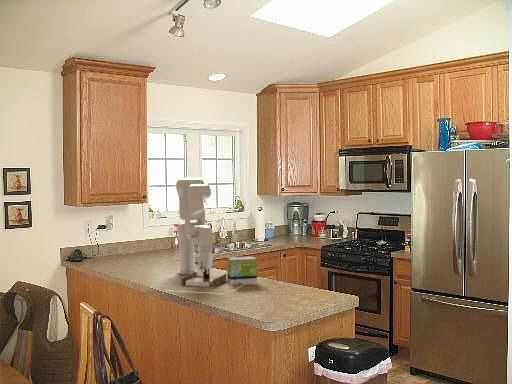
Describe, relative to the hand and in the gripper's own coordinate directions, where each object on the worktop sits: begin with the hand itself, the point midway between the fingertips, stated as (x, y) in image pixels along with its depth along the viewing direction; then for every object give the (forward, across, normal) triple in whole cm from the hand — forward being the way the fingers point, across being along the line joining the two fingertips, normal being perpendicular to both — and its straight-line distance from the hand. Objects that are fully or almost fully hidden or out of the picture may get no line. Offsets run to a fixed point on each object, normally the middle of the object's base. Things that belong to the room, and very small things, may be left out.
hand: (206, 281), depth 308 cm
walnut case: (+1, +3, 0) cm, 3 cm away
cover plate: (0, +7, 0) cm, 7 cm away
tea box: (+2, -4, +20) cm, 20 cm away
